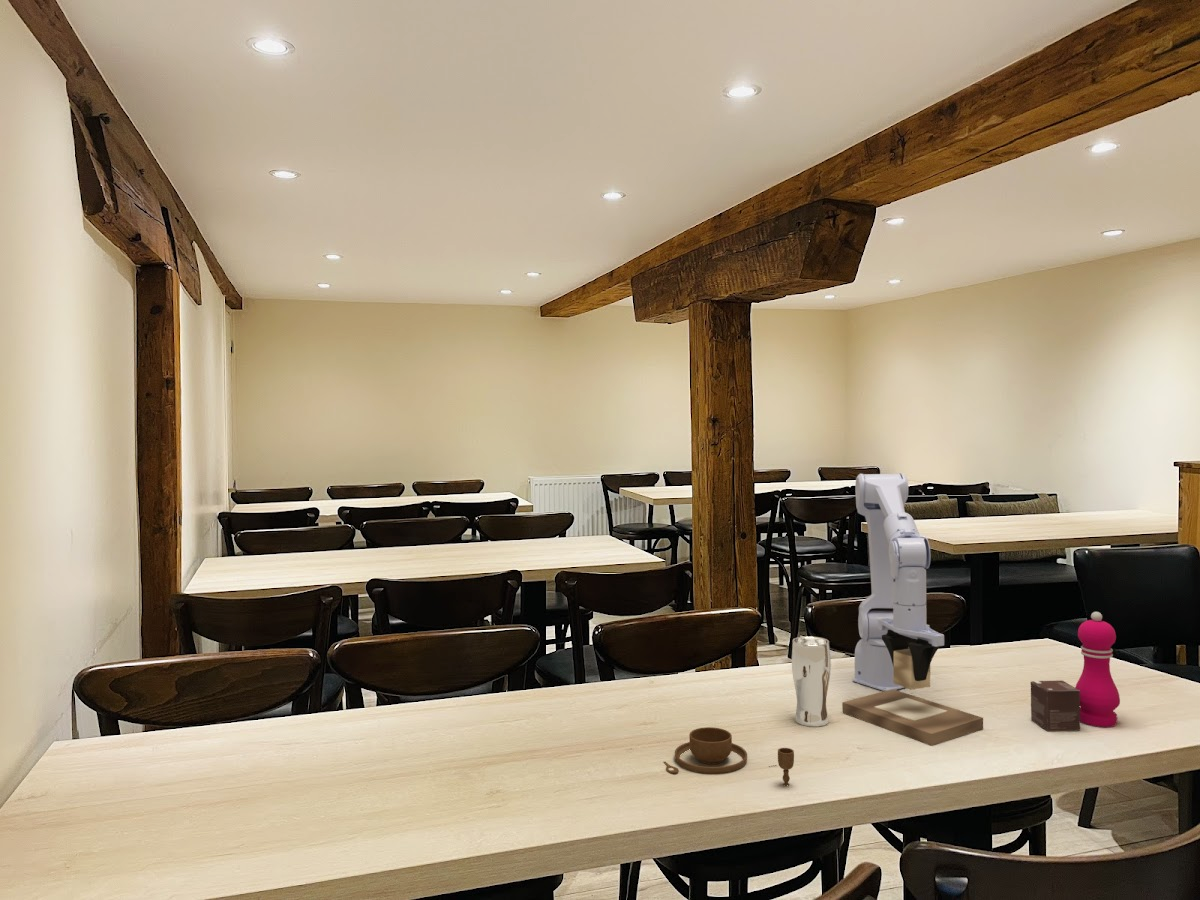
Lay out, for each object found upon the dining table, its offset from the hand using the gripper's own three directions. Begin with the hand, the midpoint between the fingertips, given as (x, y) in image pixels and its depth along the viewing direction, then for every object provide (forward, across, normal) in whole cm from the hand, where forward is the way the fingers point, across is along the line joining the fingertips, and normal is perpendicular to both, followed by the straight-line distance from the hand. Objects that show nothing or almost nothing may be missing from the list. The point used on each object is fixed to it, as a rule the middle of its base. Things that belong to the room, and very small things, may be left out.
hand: (910, 676), depth 158 cm
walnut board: (+8, 0, 0) cm, 8 cm away
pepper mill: (+8, -15, -29) cm, 34 cm away
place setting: (+9, -3, +42) cm, 43 cm away
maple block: (+2, 0, 0) cm, 2 cm away
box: (+8, -13, -21) cm, 26 cm away
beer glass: (+8, +8, +16) cm, 20 cm away
